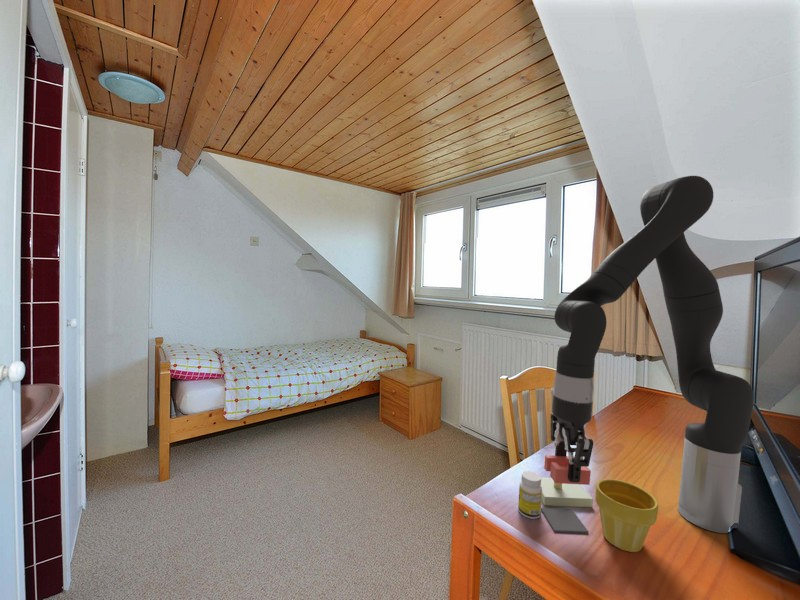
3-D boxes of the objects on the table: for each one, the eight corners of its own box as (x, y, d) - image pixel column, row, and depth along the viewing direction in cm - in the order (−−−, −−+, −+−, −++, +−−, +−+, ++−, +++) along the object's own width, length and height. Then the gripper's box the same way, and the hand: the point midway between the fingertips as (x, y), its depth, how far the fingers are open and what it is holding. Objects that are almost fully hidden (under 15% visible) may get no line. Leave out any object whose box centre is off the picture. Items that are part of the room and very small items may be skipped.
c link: (575, 469, 77) (576, 456, 77) (589, 484, 71) (590, 470, 71) (544, 468, 77) (545, 455, 77) (555, 483, 71) (556, 469, 71)
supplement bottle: (522, 502, 81) (524, 467, 80) (543, 511, 78) (546, 475, 77) (514, 512, 77) (517, 476, 76) (536, 522, 74) (539, 484, 73)
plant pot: (629, 521, 75) (633, 478, 75) (667, 560, 65) (672, 510, 64) (582, 521, 75) (585, 477, 74) (613, 560, 65) (617, 509, 64)
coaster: (571, 510, 78) (571, 508, 78) (588, 533, 71) (588, 531, 71) (540, 509, 78) (540, 507, 78) (554, 532, 71) (554, 530, 71)
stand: (574, 486, 88) (576, 459, 87) (592, 507, 80) (594, 477, 79) (531, 484, 88) (533, 457, 87) (544, 505, 80) (546, 475, 79)
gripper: (611, 408, 66) (603, 494, 67) (573, 385, 80) (567, 456, 81) (571, 406, 66) (564, 492, 67) (541, 383, 80) (535, 454, 81)
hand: (566, 472), depth 74 cm, fingers closed on c link, 5 cm apart
